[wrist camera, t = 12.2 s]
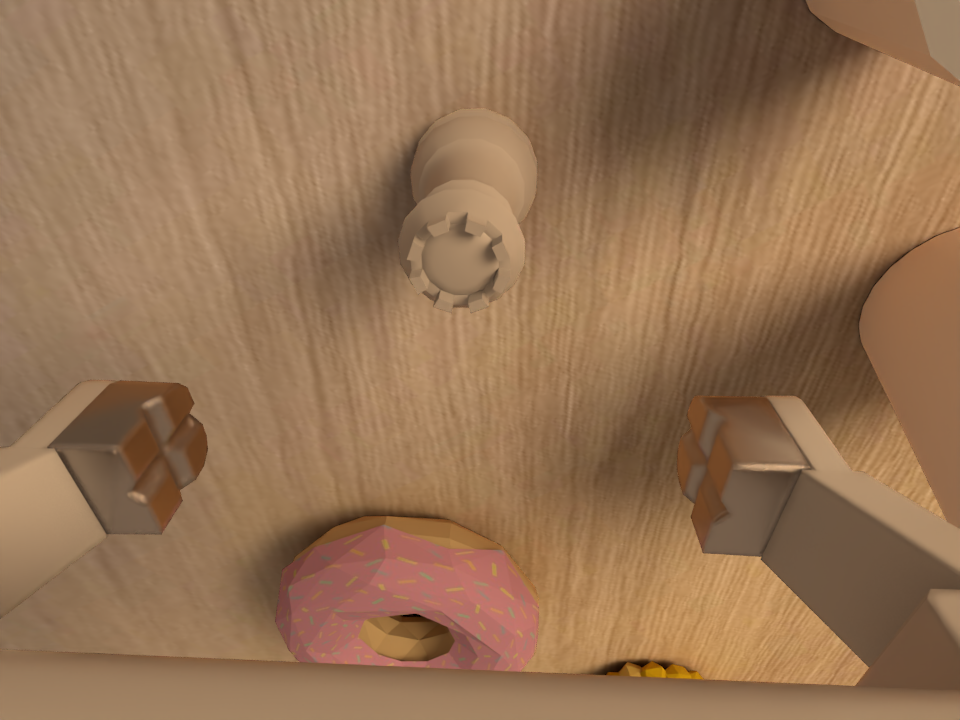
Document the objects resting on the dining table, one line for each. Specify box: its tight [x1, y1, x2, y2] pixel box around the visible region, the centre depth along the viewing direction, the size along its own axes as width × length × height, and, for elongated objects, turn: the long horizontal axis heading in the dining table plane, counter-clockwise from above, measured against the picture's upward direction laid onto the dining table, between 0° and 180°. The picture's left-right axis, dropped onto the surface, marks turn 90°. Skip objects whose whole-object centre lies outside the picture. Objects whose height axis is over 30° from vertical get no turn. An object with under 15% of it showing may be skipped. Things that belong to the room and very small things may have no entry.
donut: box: [275, 516, 539, 672], centre depth 32 cm, size 16×15×5 cm
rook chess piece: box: [398, 108, 538, 313], centre depth 17 cm, size 4×4×8 cm
